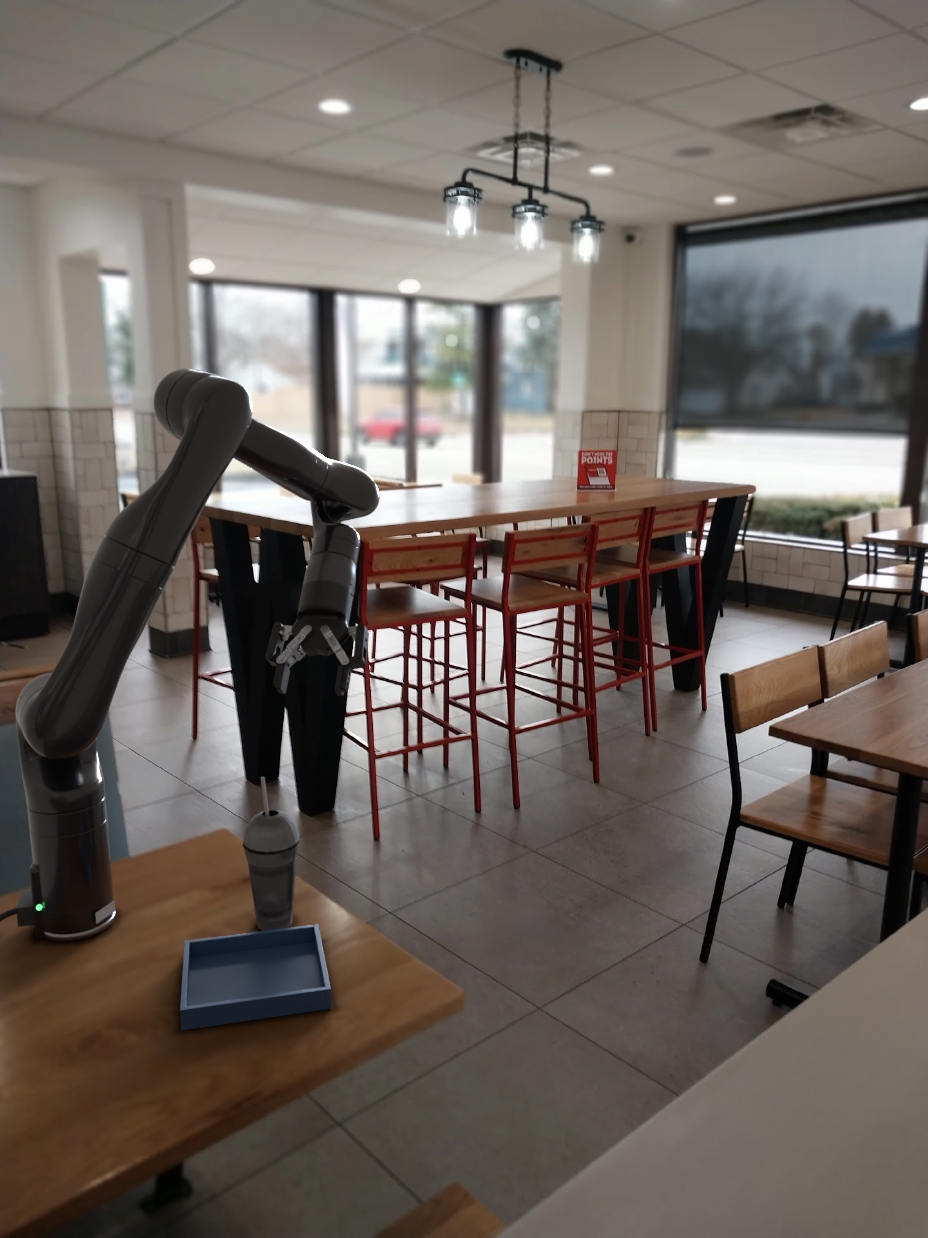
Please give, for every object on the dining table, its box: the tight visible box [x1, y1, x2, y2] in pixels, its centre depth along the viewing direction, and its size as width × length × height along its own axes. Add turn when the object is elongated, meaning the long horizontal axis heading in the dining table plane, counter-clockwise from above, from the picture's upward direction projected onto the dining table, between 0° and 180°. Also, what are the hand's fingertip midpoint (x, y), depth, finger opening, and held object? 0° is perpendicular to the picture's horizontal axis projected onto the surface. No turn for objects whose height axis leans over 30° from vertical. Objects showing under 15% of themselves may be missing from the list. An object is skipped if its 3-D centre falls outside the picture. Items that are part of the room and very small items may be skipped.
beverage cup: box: [242, 776, 301, 931], centre depth 122 cm, size 7×7×20 cm
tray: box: [179, 923, 332, 1031], centre depth 111 cm, size 16×14×2 cm
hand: (309, 692), depth 132 cm, fingers open, 8 cm apart
